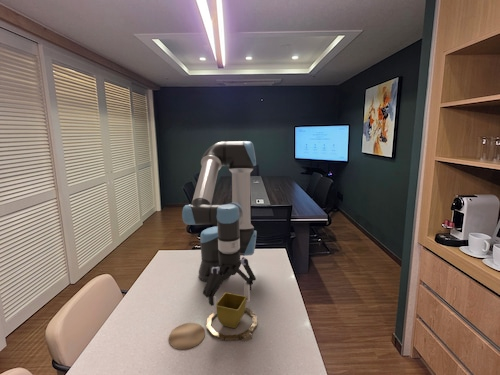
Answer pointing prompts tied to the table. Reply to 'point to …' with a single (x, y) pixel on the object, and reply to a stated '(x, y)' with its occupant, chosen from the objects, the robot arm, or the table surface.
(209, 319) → the socket ring
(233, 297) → the flower pot
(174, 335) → the coaster
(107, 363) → the table surface
